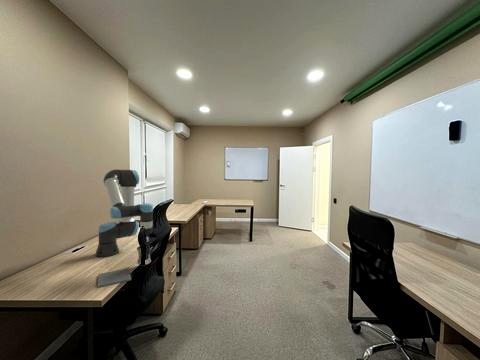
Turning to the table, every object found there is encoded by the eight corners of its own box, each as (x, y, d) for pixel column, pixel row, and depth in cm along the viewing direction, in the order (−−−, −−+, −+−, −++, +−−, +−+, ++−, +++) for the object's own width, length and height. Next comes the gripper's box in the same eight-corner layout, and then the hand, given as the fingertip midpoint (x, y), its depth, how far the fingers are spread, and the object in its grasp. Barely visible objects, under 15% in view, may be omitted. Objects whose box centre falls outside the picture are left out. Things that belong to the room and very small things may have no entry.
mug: (146, 267, 133) (146, 250, 133) (133, 265, 135) (133, 249, 134) (156, 259, 145) (157, 244, 145) (144, 257, 147) (145, 242, 146)
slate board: (98, 275, 126) (98, 273, 126) (128, 269, 134) (128, 268, 134) (97, 287, 112) (97, 285, 112) (131, 280, 121) (131, 278, 121)
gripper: (137, 224, 146) (137, 256, 146) (142, 232, 128) (141, 268, 128) (149, 223, 150) (148, 254, 150) (155, 230, 132) (154, 266, 132)
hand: (145, 261), depth 139 cm, fingers closed on mug, 8 cm apart
